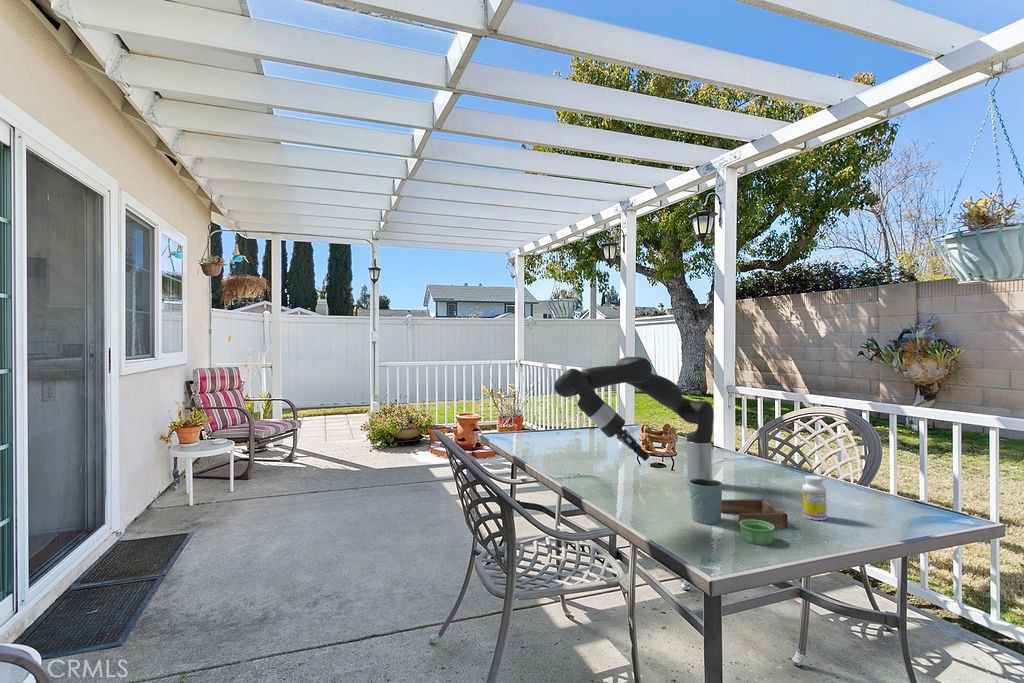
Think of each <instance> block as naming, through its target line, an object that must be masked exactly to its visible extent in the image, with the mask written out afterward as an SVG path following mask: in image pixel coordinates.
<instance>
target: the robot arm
mask: <svg viewBox="0 0 1024 683" xmlns="http://www.w3.org/2000/svg"><path fill="white" fill-rule="evenodd" d="M652 368H653V367H652V364H651V362H650V360H648V358H644V357H641V356H624V357H622V358H620V359H618V361H617V362H616V364H615V365H604V366H603V365H602V366H594V367H589V368H584V369H582V370H579V369H576V368H570V369H568V370H567V371H565V372H564V373H563V374H562V375H560V376H559V377H558V378H557V379H556V380H555V382H554V390H555V393H556V394H557V395H559V396H561V397H563V398H571V397H575V396H577V395H578V396H579V399H578V400H577V406H578V408H579V410H581V411H582V412H583V413H584V414H585V415H586V416H587V417H588V418H589V419H590V421H591V422H592V424H594V425H595V427H597V429H599V430H600V431H601V432H602V433H604V435H605V436H606V437H607V438H612V437H614V436H615V435H616V439H617V440H618V441H619V442H620V443H622V444H623V445H624V446H626V447H627V449H630V450H632V451H633V452H634V453H635V454H636V455H637V456H638V457H639V458H640V459H642V460H643V461H645V462H646V461H647V460H648V459H649V458H650V454H648V453H647V452H646V451H645V450H644V449H643V448H642V446H641V445H640V444H639V443H638V441H637V440H636V438H634V437H633V436H632V435H631V432H630V431H628V430H627V429H626V428H624V427H625V424H626V420H625V419H624V418H623V417H622V415H620V414H619V413H618V412H617V411H616V410H615V409H614V408H613V407H611V406H610V405H609V404H608V403H606V402H605V401H604V400H603V399H602V398H601V396H599V395H598V394H597V392H595V390H596V389H601V388H605V387H608V386H613V385H618V384H624V383H626V384H627V385H631V386H632V387H635V388H637V389H638V390H640V391H642V393H644V394H645V395H648V397H650V398H652V400H654V401H657V402H658V403H659V404H661V405H663V406H664V407H666V408H668V409H669V410H671V411H673V412H674V413H675V414H676V415H678V416H679V418H680V419H682V420H683V421H685V422H686V423H688V424H694V425H697V428H696V430H695V431H691V432H688V433H687V434H686V461H687V462H686V463H687V464H686V471H687V472H686V476H687V478H686V479H687V480H686V481H687V485H688V486H689V480H691V479H712V480H713V464H712V462H713V453H712V451H713V450H712V438H713V430H714V429H713V428H714V410H713V406H712V404H711V403H710V401H709V402H708V401H705V400H704V401H703V400H690V399H687V398H686V397H684V396H683V392H682V389H681V388H680V387H679V386H678V385H677V384H676V383H674V382H673V381H672V380H670V379H669V378H666V377H664V376H661V375H658V374H655V373H652V371H653V369H652ZM623 428H624V429H623Z"/></svg>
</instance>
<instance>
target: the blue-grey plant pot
mask: <svg viewBox="0 0 1024 683" xmlns="http://www.w3.org/2000/svg"><path fill="white" fill-rule="evenodd" d="M688 486H689V488H688V490H689V494H690V495H689V496H690V506H691V519H692V521H694V522H695V523H698V524H701V525H710V526H714V525H718V524H720V523H721V522H722V513H721V504H722V500H723V482H722V481H720V480H716V479H713V478H712V479H691V480H689V485H688Z"/></svg>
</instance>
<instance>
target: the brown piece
mask: <svg viewBox="0 0 1024 683" xmlns="http://www.w3.org/2000/svg"><path fill="white" fill-rule="evenodd" d="M736 513H738V527H739V528H740V524H739V522H740V521H742V520H749V519H752V520H761V521H765V522H768V523H770V524H772V525H773V526H774V529H777V528H780V529H785V528H786V529H787V528H788V522H789V521H788V514H787V513H786V512H784V511H782V510H781V509H780V508H778V507H776V506H774V505H773V504H771V503H770V502H768V501H766V500H764V499H762V498H761V499H759V498H758V499H757V498H756V499H755V498H754V499H748V498H747V499H742V498H741V499H740V498H739V499H722V504H721V514H736Z"/></svg>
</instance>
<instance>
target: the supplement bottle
mask: <svg viewBox="0 0 1024 683" xmlns="http://www.w3.org/2000/svg"><path fill="white" fill-rule="evenodd" d="M804 480H805V483H804V484H803V485H802V487H801V488H802V492H801V494H802V496H801V498H802V499H801V500H802V503H801V504H802V516H803V517H804V518H805V517H806V519H808V520H811V519H813V520H812V521H818V520H821V521H825V520H826V519H827V517H828V515H827V514H828V512H827V511H828V510H827V509H828V507H827V506H828V505H827V488H826V487H825V486H824V485H822V484H823V478H822V477H821V476H817V475H805V477H804Z"/></svg>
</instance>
